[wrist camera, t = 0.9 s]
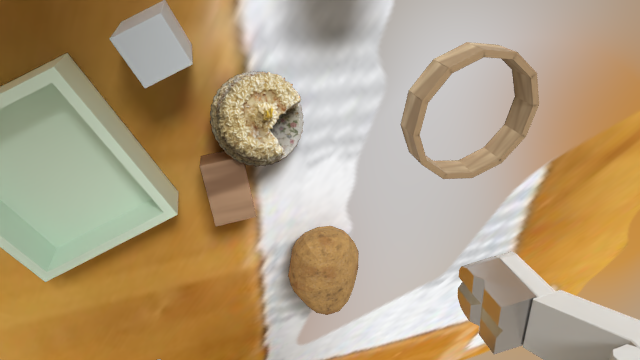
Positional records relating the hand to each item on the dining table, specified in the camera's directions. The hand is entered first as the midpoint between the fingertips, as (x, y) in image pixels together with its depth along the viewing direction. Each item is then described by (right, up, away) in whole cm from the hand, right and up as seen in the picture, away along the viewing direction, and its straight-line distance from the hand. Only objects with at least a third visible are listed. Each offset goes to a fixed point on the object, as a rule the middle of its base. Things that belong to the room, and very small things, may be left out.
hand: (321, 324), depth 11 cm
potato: (-1, -6, +48) cm, 48 cm away
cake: (-7, +10, +33) cm, 35 cm away
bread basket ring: (+18, +13, +42) cm, 47 cm away
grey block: (-15, +18, +28) cm, 37 cm away
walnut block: (-11, +6, +34) cm, 36 cm away
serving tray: (-27, +5, +32) cm, 42 cm away
